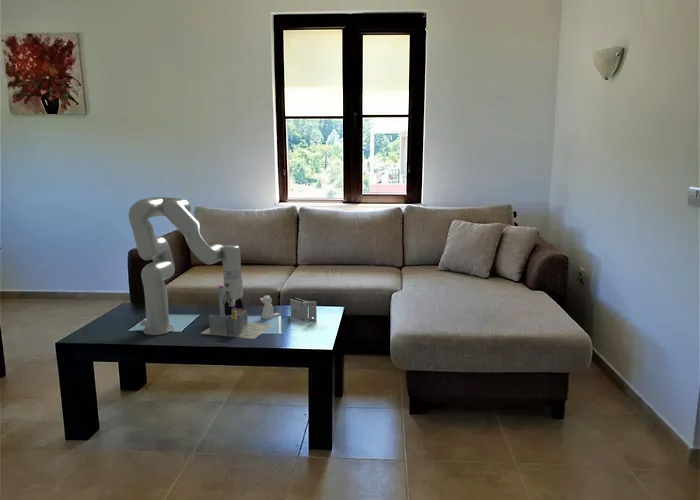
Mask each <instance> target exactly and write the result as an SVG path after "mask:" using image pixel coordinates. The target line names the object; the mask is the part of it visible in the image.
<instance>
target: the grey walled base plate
mask: <svg viewBox="0 0 700 500" xmlns="http://www.w3.org/2000/svg"><path fill="white" fill-rule="evenodd" d="M237 316H238V318H237V319H231V316H220V315H215V314H214V315H213V314H208V325H209V326H208V328H207V329H205V330H204V331H202V332H200V334H203V335H212V336H213V335H214V336H221V337H222V336H224V337H231V338H241V339H253V340H255V339H256V338H257V337H259V336H261V335H262V333H264V332H266V331H267V330H268V329H269V328H271V327H272V326H273V325H274V324H272V323H271V324H270V323H259V322H252V321H251V322H250V321H248V310H247V309H243V311H242V312H241V313H239V314H238V315H237Z"/></svg>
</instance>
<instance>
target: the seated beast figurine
mask: <svg viewBox="0 0 700 500" xmlns="http://www.w3.org/2000/svg"><path fill="white" fill-rule="evenodd" d="M259 299H260V302H262V304H264V305H263V307H262V313H261V318H262V319H263V320H270V319H273V318H276V317H281V316H282V314H281V313H279V312H276V313H274V307H273V305H272V302H273V300H272V297H271V296H270V295H269V294H268V295H264V296H263V297H260V298H259Z"/></svg>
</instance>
